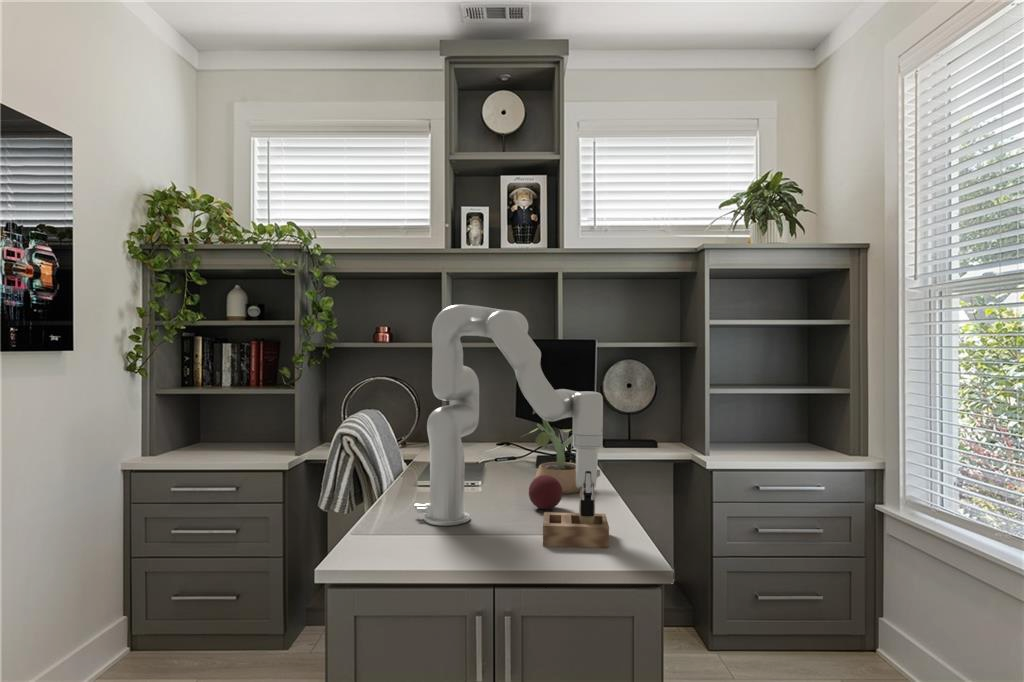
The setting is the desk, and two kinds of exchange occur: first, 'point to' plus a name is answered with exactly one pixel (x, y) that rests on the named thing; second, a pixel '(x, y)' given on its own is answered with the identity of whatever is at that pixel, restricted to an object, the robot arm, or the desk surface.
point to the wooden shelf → (574, 531)
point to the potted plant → (560, 468)
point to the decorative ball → (545, 492)
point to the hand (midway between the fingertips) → (586, 512)
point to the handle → (582, 518)
